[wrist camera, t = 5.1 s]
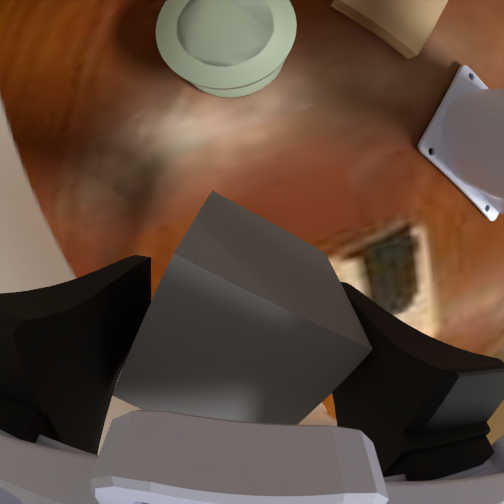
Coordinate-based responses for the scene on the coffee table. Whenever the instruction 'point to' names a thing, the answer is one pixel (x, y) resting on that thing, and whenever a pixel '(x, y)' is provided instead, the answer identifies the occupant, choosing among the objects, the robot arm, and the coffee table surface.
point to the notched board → (395, 20)
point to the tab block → (243, 325)
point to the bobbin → (226, 42)
